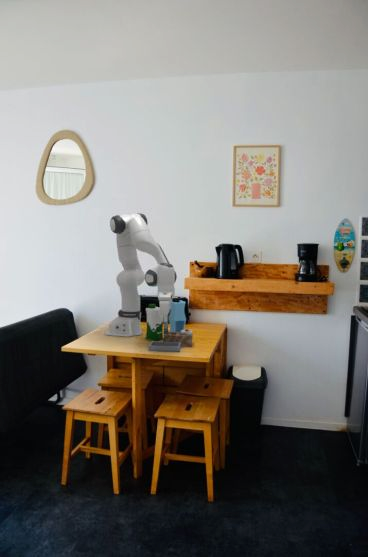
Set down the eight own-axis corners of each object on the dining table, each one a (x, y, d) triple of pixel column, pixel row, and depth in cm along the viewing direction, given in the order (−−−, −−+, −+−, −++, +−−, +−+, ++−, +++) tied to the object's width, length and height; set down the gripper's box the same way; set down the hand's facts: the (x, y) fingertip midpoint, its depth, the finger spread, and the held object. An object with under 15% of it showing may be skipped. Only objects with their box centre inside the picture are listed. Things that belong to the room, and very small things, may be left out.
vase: (179, 332, 255) (180, 300, 253) (185, 335, 248) (186, 302, 246) (168, 333, 252) (169, 300, 250) (173, 336, 245) (174, 302, 243)
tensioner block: (163, 346, 222) (163, 330, 221) (164, 341, 231) (165, 326, 230) (191, 347, 221) (192, 331, 221) (192, 342, 230) (192, 327, 229)
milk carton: (152, 336, 243) (153, 302, 241) (165, 338, 238) (166, 304, 236) (143, 339, 236) (144, 304, 234) (156, 341, 231) (157, 306, 229)
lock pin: (162, 334, 214) (162, 311, 213) (162, 332, 218) (163, 310, 216) (168, 334, 214) (169, 311, 213) (169, 332, 217) (169, 310, 216)
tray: (148, 350, 212) (148, 346, 212) (151, 345, 222) (151, 341, 222) (179, 352, 211) (179, 347, 211) (180, 346, 221) (180, 342, 221)
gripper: (162, 291, 224) (161, 316, 225) (157, 297, 204) (157, 324, 205) (173, 292, 224) (173, 317, 225) (170, 297, 203) (170, 324, 205)
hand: (165, 320), depth 215 cm, fingers closed on lock pin, 3 cm apart
